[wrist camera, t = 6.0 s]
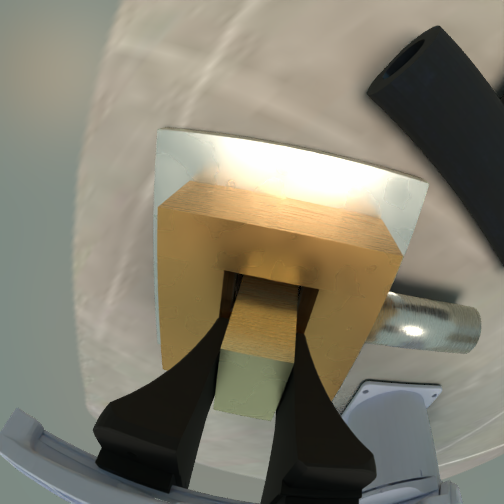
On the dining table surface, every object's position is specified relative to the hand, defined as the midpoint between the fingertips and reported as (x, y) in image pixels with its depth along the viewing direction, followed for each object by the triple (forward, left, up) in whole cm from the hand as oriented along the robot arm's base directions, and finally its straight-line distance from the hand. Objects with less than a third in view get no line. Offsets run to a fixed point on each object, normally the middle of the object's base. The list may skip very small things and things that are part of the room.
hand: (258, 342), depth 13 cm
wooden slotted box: (0, -3, -6) cm, 7 cm away
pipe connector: (+12, -12, -6) cm, 18 cm away
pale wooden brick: (0, 0, -4) cm, 4 cm away
